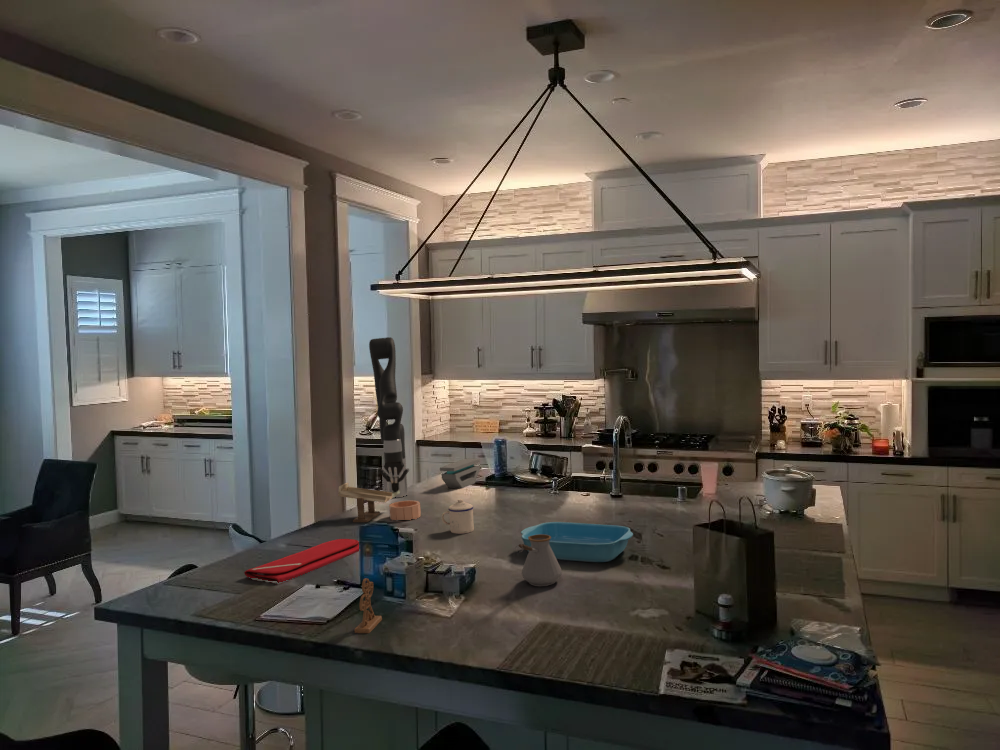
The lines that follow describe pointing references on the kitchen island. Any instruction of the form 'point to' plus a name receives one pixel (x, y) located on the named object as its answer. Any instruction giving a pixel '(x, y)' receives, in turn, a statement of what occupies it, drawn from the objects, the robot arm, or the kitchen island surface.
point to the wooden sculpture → (368, 618)
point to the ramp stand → (368, 514)
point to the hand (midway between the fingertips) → (395, 491)
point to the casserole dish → (582, 540)
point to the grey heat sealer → (460, 473)
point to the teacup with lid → (460, 517)
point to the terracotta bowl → (405, 510)
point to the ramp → (366, 493)
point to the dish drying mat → (304, 561)
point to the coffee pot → (540, 562)
